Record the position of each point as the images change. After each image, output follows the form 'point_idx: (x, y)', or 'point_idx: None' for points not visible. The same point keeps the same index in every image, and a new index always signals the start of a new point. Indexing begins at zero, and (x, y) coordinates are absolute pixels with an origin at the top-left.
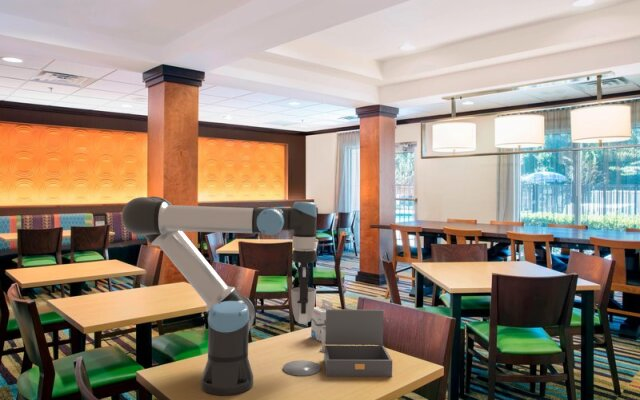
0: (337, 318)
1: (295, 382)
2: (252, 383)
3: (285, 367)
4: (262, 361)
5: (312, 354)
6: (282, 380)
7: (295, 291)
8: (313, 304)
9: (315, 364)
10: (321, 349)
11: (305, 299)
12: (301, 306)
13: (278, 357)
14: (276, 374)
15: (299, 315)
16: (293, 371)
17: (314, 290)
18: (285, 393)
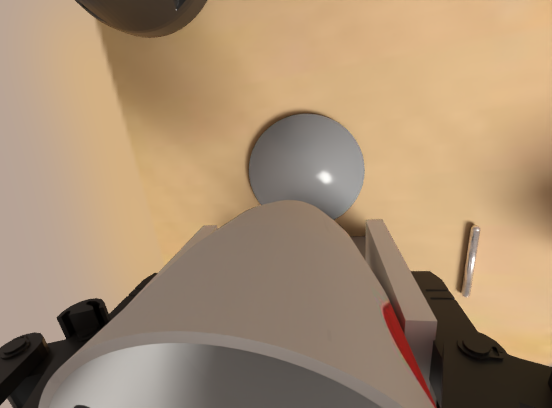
0: (431, 390)
1: (205, 162)
2: (143, 35)
3: (296, 122)
4: (371, 18)
5: (442, 201)
6: (211, 124)
7: (381, 351)
8: (231, 391)
9: (328, 213)
10: (474, 233)
11: (13, 405)
12: (112, 311)
13: (417, 78)
14: (252, 98)
15: (181, 252)
16: (265, 151)
17: None
18: (135, 142)
